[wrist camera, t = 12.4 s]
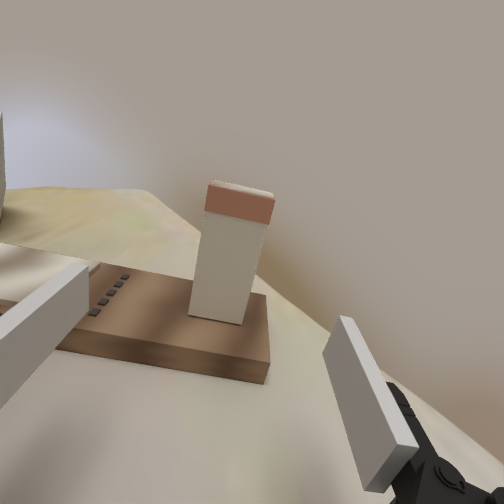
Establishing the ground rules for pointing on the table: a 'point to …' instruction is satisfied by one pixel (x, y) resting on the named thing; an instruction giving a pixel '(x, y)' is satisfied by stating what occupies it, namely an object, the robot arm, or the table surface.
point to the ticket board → (144, 318)
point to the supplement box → (2, 166)
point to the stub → (229, 250)
